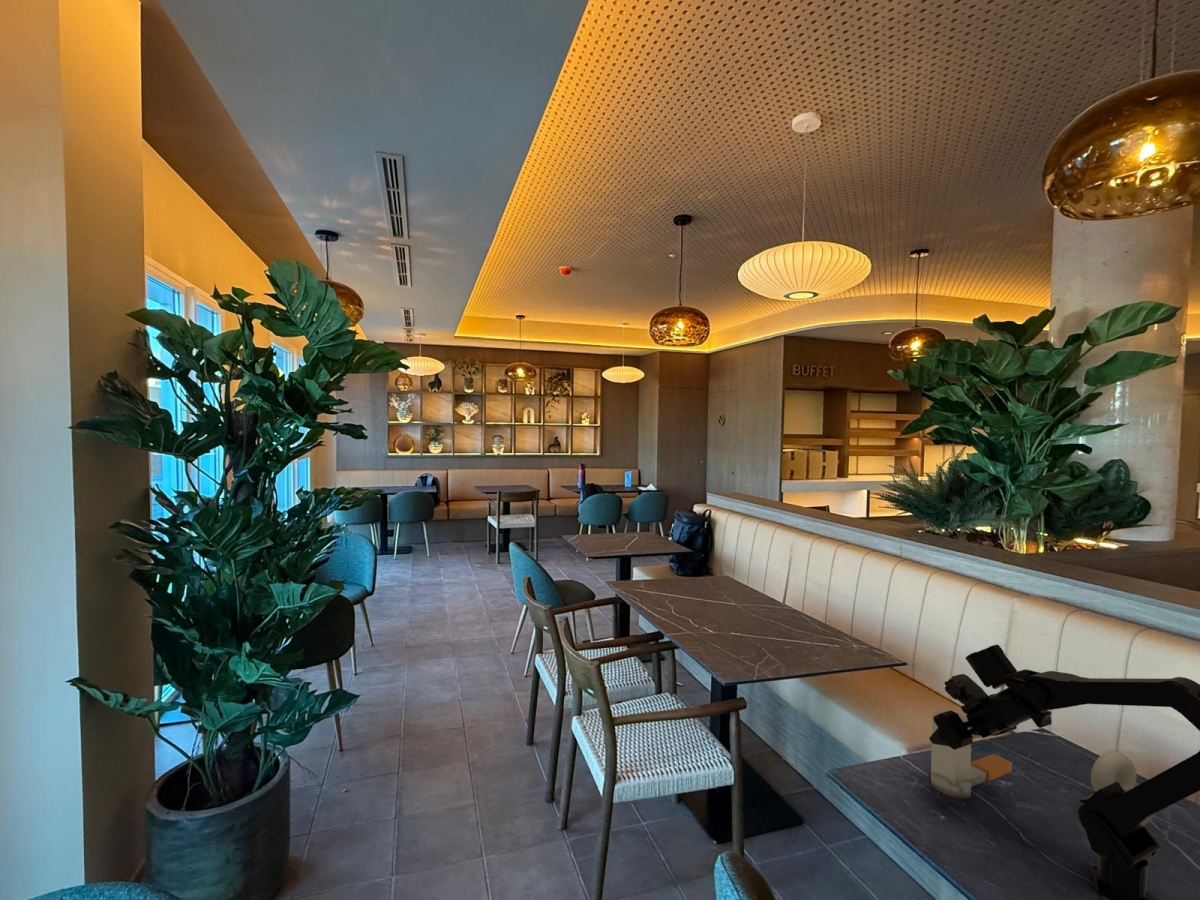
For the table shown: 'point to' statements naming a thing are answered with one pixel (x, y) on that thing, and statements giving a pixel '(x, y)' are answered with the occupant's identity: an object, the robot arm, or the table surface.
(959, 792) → the ratchet
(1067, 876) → the table surface
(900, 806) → the table surface
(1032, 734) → the table surface
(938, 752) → the tall beige block
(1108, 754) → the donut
